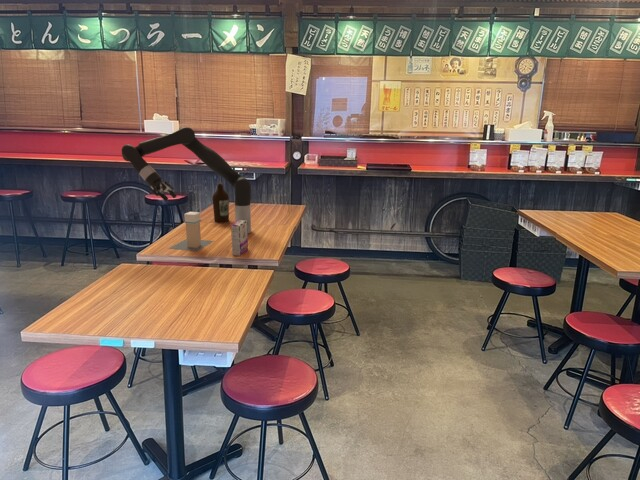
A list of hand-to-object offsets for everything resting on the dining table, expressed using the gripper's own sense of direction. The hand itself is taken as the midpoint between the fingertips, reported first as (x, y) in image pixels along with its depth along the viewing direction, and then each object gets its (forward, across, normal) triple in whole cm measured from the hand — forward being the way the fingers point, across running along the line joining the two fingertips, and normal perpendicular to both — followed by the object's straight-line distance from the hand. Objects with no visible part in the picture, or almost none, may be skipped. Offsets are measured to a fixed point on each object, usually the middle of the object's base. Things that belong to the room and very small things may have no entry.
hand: (171, 198), depth 259 cm
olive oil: (+19, +60, +19) cm, 66 cm away
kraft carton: (+26, 0, +10) cm, 28 cm away
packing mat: (+25, +2, +12) cm, 28 cm away
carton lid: (+17, 0, 0) cm, 17 cm away
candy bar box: (+46, -1, -9) cm, 47 cm away
